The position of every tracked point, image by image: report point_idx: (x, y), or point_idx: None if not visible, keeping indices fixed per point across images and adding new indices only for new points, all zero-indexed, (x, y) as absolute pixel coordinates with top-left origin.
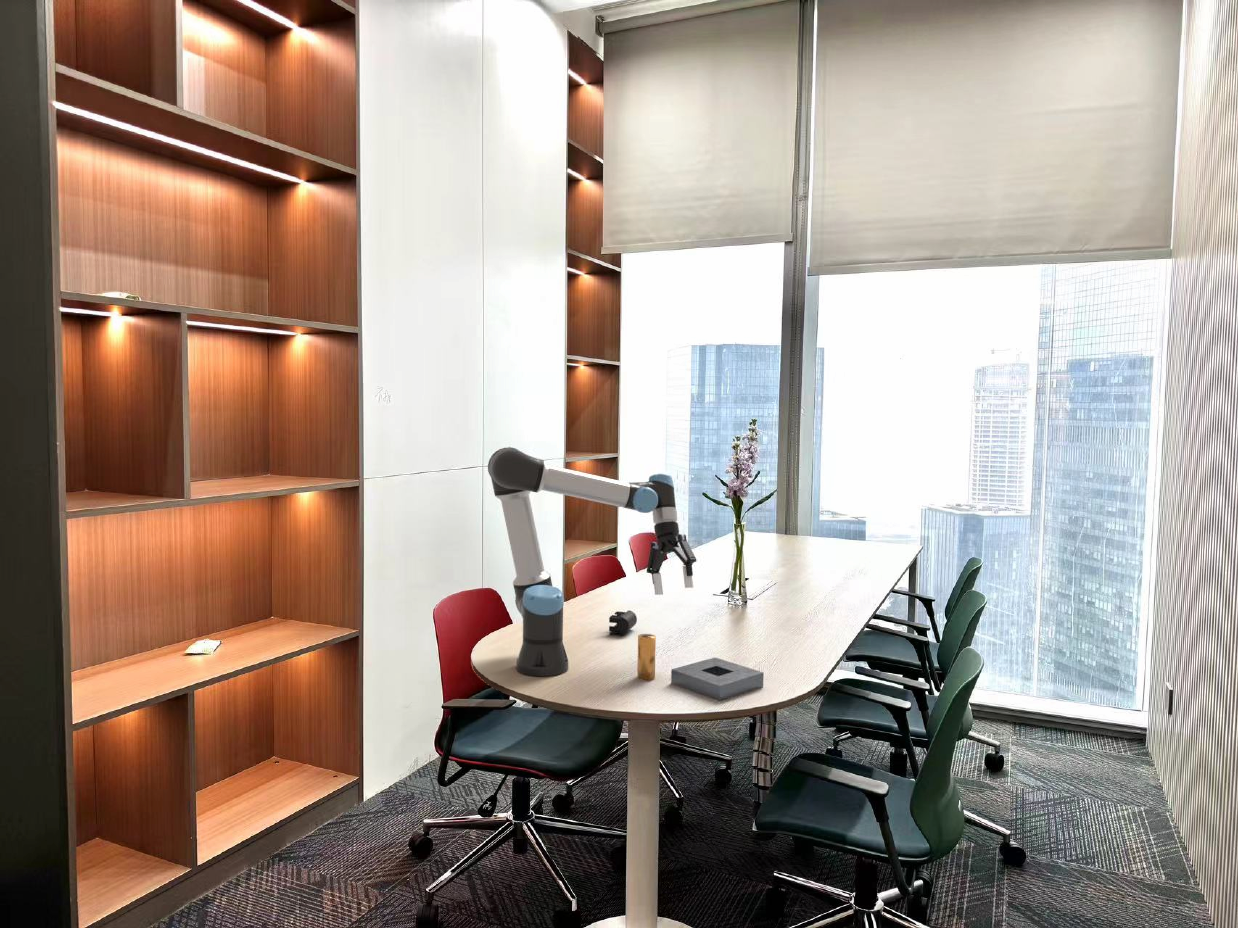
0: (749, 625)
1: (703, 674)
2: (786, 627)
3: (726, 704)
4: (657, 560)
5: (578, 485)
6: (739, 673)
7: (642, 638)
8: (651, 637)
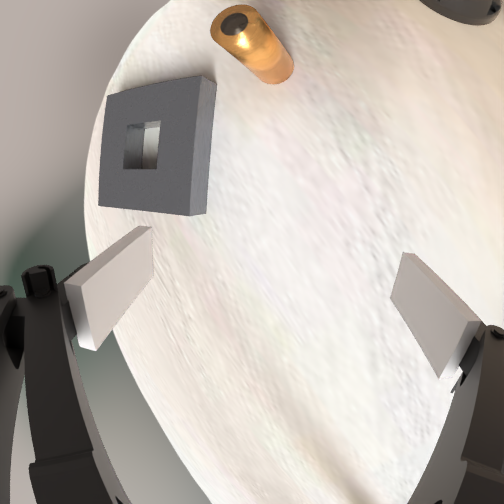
0: (328, 489)
1: (146, 108)
2: (275, 495)
3: None
4: (477, 411)
5: None
6: (114, 168)
7: (230, 7)
8: (216, 27)
